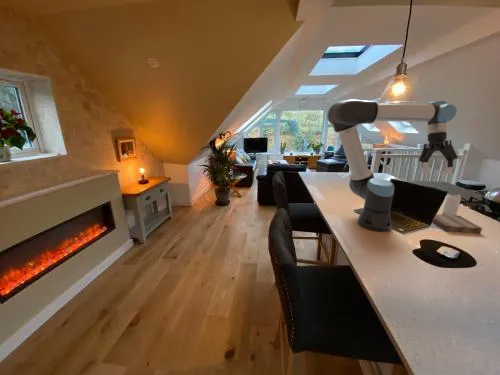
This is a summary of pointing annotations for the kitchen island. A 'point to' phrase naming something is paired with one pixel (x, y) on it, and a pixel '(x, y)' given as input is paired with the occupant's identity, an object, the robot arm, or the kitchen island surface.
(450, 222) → the walnut board
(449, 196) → the can
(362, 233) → the kitchen island surface
